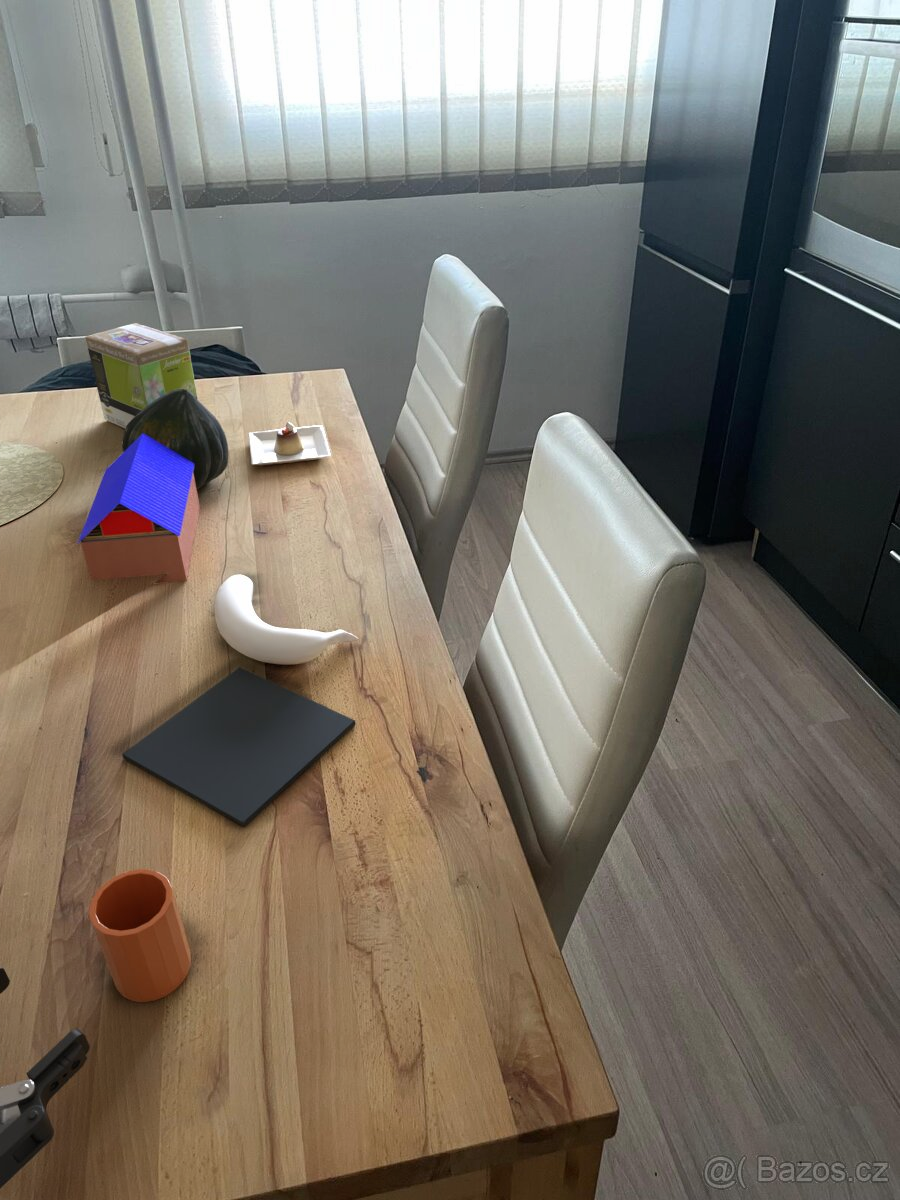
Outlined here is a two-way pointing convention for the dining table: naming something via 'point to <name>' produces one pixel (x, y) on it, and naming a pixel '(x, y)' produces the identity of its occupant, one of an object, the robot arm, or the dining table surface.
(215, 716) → the mat
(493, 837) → the dining table surface
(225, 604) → the banana
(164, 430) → the squash
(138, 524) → the house
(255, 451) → the dessert
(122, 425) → the tea box
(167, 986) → the cup
